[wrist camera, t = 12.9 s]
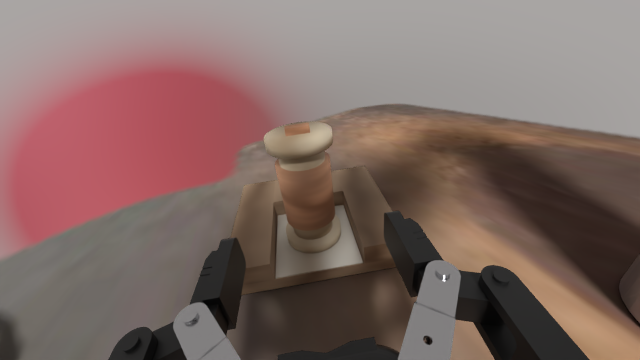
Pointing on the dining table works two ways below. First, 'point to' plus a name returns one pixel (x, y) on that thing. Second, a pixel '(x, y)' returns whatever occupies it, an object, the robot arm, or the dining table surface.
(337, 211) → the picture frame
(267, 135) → the bobbin
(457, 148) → the dining table surface
